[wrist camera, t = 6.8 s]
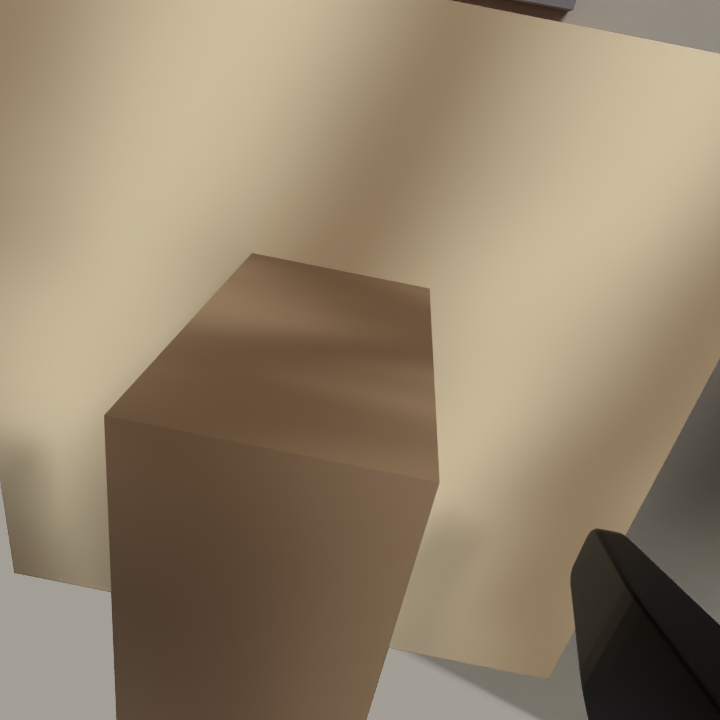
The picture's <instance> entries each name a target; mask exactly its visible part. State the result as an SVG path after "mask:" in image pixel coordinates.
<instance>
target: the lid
mask: <svg viewBox="0 0 720 720" xmlns="http://www.w3.org/2000/svg"><path fill="white" fill-rule="evenodd" d="M719 359H720V54H718V53H713V52H708V51H703V50H698V49H693V48H688V47H683V46H678V45H673V44H668V43H663V42H658V41H653V40H648V39H643V38H638V37H633V36H628V35H623V34H618V33H613V32H608V31H603V30H598V29H593V28H588V27H583V26H578V25H573V24H568V23H563V22H558V21H553V20H548V19H543V18H538V17H533V16H528V15H522V14H517V13H512V12H507V11H502V10H497V9H492V8H487V7H482V6H477V5H472V4H467V3H462V2H457V1H452V0H0V482H1V488H2V495H3V501H4V508H5V514H6V521H7V527H8V534H9V541H10V547H11V553H12V560H13V566H14V573H18V574H23V575H28V576H33V577H38V578H43V579H48V580H53V581H58V582H63V583H68V584H73V585H79V586H83V587H88V588H94V589H99V590H103V591H108V592H111V596H112V597H111V598H112V620H113V621H112V622H113V644H114V645H113V646H114V669H115V692H116V693H115V694H116V717H117V720H366V719H367V716H368V713H369V709H370V706H371V703H372V700H373V697H374V693H375V690H376V687H377V683H378V680H379V677H380V674H381V671H382V667H383V664H384V661H385V658H386V654H387V651H388V648H393V649H398V650H403V651H408V652H413V653H418V654H423V655H428V656H433V657H438V658H443V659H448V660H453V661H458V662H463V663H468V664H473V665H478V666H483V667H488V668H493V669H498V670H503V671H508V672H513V673H518V674H523V675H528V676H533V677H538V678H543V679H548V680H549V678H550V676H551V674H552V672H553V670H554V668H555V666H556V665H557V663H558V661H559V659H560V657H561V655H562V653H563V651H564V650H565V648H566V646H567V644H568V642H569V640H570V638H571V636H572V635H573V633H574V631H575V623H574V614H573V604H572V595H571V586H570V576H571V570H572V567H573V565H574V562H575V560H576V558H577V556H578V554H579V552H580V550H581V548H582V546H583V544H584V542H585V539H586V537H587V535H588V534H589V532H590V531H591V530H593V529H596V528H599V529H604V530H610V531H615V532H619V533H622V534H624V535H626V533H627V531H628V530H629V528H630V526H631V524H632V522H633V520H634V518H635V516H636V515H637V513H638V511H639V509H640V507H641V505H642V503H643V502H644V500H645V498H646V496H647V494H648V492H649V490H650V488H651V487H652V485H653V483H654V481H655V479H656V477H657V475H658V473H659V472H660V470H661V468H662V466H663V464H664V462H665V460H666V458H667V457H668V455H669V453H670V451H671V449H672V447H673V445H674V443H675V442H676V440H677V438H678V436H679V434H680V432H681V430H682V428H683V427H684V425H685V423H686V421H687V419H688V417H689V415H690V413H691V412H692V410H693V408H694V406H695V404H696V402H697V400H698V398H699V397H700V395H701V393H702V391H703V389H704V387H705V385H706V383H707V382H708V380H709V378H710V376H711V374H712V372H713V370H714V368H715V367H716V365H717V363H718V361H719Z"/></svg>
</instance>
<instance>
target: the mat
mask: <svg viewBox="0 0 720 720" xmlns="http://www.w3.org/2000/svg"><path fill="white" fill-rule="evenodd" d="M511 1H516V2H522V3H527V4H532V5H538V6H543V7H548V8H554V9H559V10H564V11H571V10H573V9H574V6H575V2H576V0H511Z"/></svg>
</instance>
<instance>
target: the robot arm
mask: <svg viewBox="0 0 720 720" xmlns="http://www.w3.org/2000/svg"><path fill="white" fill-rule="evenodd" d="M570 586H571V595H572V604H573V614H574V623H575V632H576V641H577V651H578V660H579V669H580V677H581V684H582V690H583V696H584V701H585V706H586V711H587V715H588V720H720V625H719V624H718V623H717V622H716V621H715V620H714V619H713V618H712V617H711V616H710V615H708V614H707V613H706V612H705V611H704V610H703V609H702V608H701V607H700V606H699V605H698V604H697V603H696V602H695V601H694V600H693V599H692V598H691V597H689V596H688V595H687V594H686V593H685V592H684V591H683V590H682V589H681V588H680V587H679V586H678V585H677V584H676V583H675V582H674V581H673V580H672V579H670V578H669V577H668V576H667V575H666V574H665V573H664V572H663V571H662V570H661V569H660V568H659V567H658V566H657V565H656V564H655V563H654V562H653V561H651V560H650V559H649V558H648V557H647V556H646V555H645V554H644V553H643V552H642V551H641V550H640V549H639V548H638V547H637V546H636V545H635V544H634V543H632V542H631V541H630V540H629V539H628V538H627V537H626V536H625V535H624V534H622V533H619V532H615V531H610V530H604V529H599V528H596V529H593V530H591V531H590V532H589V534H588V535H587V537H586V539H585V542H584V544H583V546H582V548H581V550H580V552H579V554H578V556H577V558H576V560H575V562H574V565H573V567H572V570H571V576H570Z"/></svg>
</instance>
